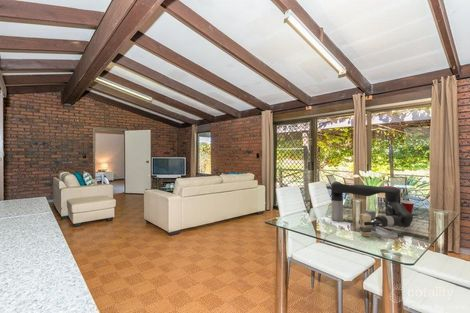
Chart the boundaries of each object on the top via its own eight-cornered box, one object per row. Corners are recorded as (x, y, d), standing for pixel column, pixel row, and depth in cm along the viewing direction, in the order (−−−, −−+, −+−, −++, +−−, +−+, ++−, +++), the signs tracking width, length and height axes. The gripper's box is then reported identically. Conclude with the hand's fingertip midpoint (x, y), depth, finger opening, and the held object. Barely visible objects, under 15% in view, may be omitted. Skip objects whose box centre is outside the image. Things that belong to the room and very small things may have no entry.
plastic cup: (410, 216, 224) (410, 203, 224) (398, 214, 234) (398, 201, 234) (417, 214, 230) (417, 201, 230) (404, 212, 239) (404, 200, 239)
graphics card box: (401, 220, 212) (401, 188, 212) (392, 220, 213) (391, 188, 213) (392, 215, 229) (392, 185, 228) (384, 215, 230) (384, 185, 230)
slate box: (375, 230, 185) (375, 211, 184) (369, 230, 184) (369, 211, 184) (371, 228, 190) (371, 209, 189) (365, 228, 189) (364, 210, 189)
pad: (381, 241, 165) (381, 239, 165) (365, 242, 164) (365, 240, 164) (365, 233, 181) (365, 232, 181) (351, 234, 179) (351, 232, 179)
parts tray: (397, 238, 168) (397, 234, 168) (381, 240, 167) (381, 235, 167) (372, 227, 194) (372, 223, 194) (358, 228, 192) (358, 224, 192)
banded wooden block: (371, 235, 170) (371, 215, 170) (364, 236, 169) (364, 215, 169) (366, 233, 175) (366, 213, 175) (359, 233, 174) (359, 213, 174)
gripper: (377, 213, 181) (355, 214, 179) (392, 218, 167) (368, 220, 165) (377, 223, 181) (355, 225, 179) (392, 229, 167) (368, 231, 165)
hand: (361, 222), depth 172 cm, fingers closed on banded wooden block, 5 cm apart
